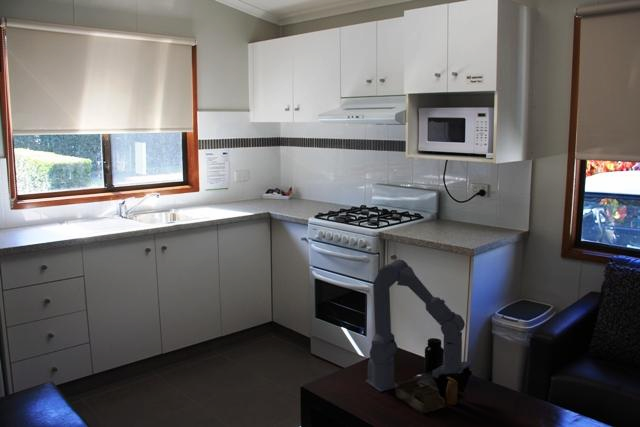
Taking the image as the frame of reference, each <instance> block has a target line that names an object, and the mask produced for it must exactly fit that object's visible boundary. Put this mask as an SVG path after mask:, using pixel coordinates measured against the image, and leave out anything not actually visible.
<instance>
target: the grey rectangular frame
mask: <svg viewBox="0 0 640 427" xmlns="http://www.w3.org/2000/svg"><path fill="white" fill-rule="evenodd" d="M414 378H416V379H417V382H418V383H420V384H422V385H423V386H425V385H429V387H431V388H433V389H434V390H437V391H438V392H439V390H438V387H437V384H436V382H435V380H434V378H433V376H432V371H431V372H427V373H426V372H424V373H420V374H416V375H413V378H412V379H414ZM439 395H440V394H439Z"/></svg>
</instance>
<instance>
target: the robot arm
mask: <svg viewBox="0 0 640 427" xmlns="http://www.w3.org/2000/svg"><path fill="white" fill-rule="evenodd" d="M396 282H397V283H396ZM395 283H396V285H397V286H403V287H407V288H409V289H410V291H412V293H414V294H415V295H416V297H418V298H419V299H420V300H421V301H422V302H423V303H424V304H425V310H426V311H427V312H428V314H429V315H430V316H431V317H432V318H433V319H434V320H435V321H436V323H438V325H440V331H441V333H442V334H443V347H442V348H443V365H442V366H440V367H439V368H437V369H435V370H432V376H433V378H434V380H435V382H436V384H437V387H438V390H439V394H440V396H441V397H443V398H445V399H446V388H447V384H448V381H449V380H448V379H447V377H446V376H445V375H448V374H456V377H457V378H456V379H457V380H456V381H457V391H459V392H460V393H465V389H466V387H467V383H468V381H469V379H470V377H471V376H472V374H473V371H472V370H471V369H472V365H473V364H472V362H470V361H468V360H466V361H462V360H463V359H462V356H463V354H462V353H463V332H462V331H464V328H465V325H466V324H465V321H464V318H463V316H462V315H460V314H458V313H455V312H454V311H452V310H451V308H449V307H448V306H447V305H446V301H445V300H444V299H441V298H440V297H436V296H434V295H433V294H432V293H431V292H430V290H428V289H427V287H426V286H425V285H424V283H423V282H422V281H421V280H420V279H419V277H418V276H417V275H416V273H415V272H414V270H413V268H412V267H411V266H410V265H408V263H407V262H406V261H405V260H403V259H396V260H394V261H392V262H391V263H389V264H385V265H384V266H382V267H381V268H379V269H378V273H377V275H376V276H375V279H374V281H373V284H372V286H373V290H372V291H373V309H374V310H373V311H374V330H375V331H374V332H375V333H374V336H373V338H372V341H371V347H370V350H369V357H370V358H369V360H368V363H367V379H366V380H365V383H367V384H368V385H370V386H372V387H373V388H374V389H376V390H377V391H378V392H380V393H381V392H385V391H388V390H392V389H396V388H397V387H398V382H397V383H396V382H395V355H396V353H397V352H398V345H397V342H396V340H395V339H396V338H395V335H394V334H393V333H392V321H391V320H392V318H391V316H392V315H391V299H390V297H391V296H390V293H391V292H390V291H391V290H390V288H391V287H392V286H394V284H395Z"/></svg>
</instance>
